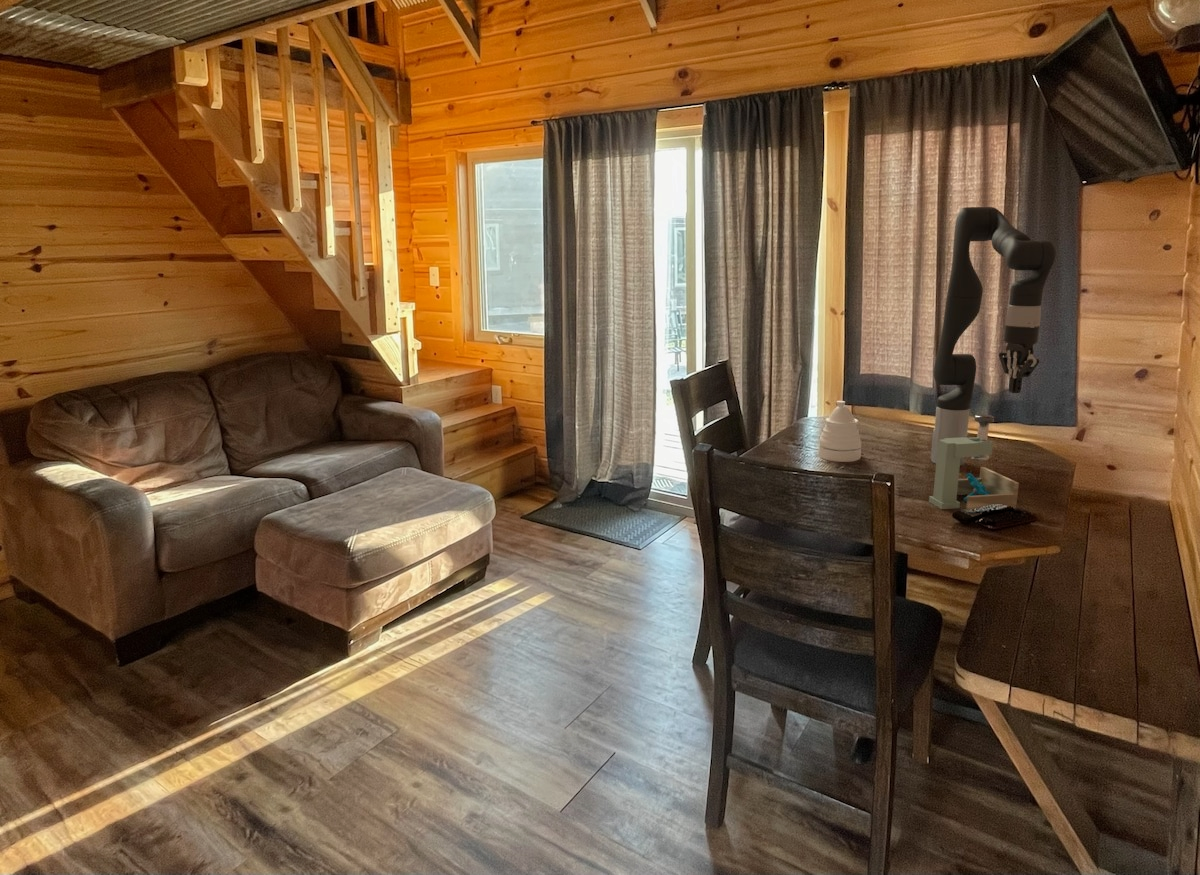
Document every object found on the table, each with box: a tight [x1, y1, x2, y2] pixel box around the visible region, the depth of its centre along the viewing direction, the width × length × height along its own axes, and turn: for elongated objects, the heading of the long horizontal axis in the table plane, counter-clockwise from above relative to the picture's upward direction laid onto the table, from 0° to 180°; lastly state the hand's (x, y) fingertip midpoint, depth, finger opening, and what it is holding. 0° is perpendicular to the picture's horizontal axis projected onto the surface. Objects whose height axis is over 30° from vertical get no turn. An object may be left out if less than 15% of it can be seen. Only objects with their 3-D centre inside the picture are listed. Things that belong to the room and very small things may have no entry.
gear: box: [963, 472, 991, 503], centre depth 209 cm, size 11×6×10 cm
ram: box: [970, 413, 995, 462], centre depth 204 cm, size 4×4×11 cm
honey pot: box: [817, 400, 862, 463], centre depth 251 cm, size 13×13×18 cm
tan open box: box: [957, 466, 1020, 511], centre depth 208 cm, size 14×13×7 cm
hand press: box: [928, 436, 994, 510], centre depth 206 cm, size 6×13×17 cm, turn 98°
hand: (1014, 392), depth 202 cm, fingers closed
